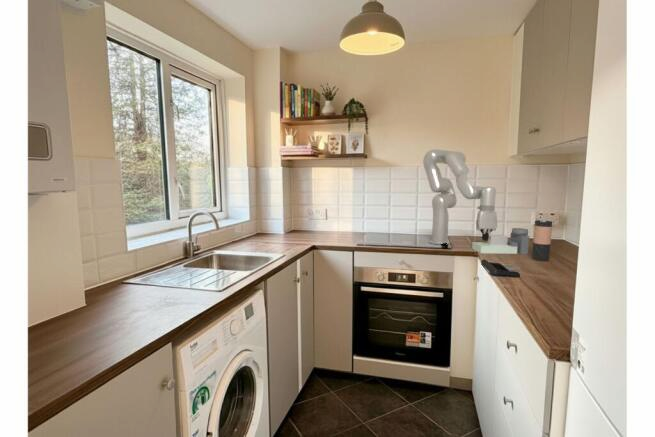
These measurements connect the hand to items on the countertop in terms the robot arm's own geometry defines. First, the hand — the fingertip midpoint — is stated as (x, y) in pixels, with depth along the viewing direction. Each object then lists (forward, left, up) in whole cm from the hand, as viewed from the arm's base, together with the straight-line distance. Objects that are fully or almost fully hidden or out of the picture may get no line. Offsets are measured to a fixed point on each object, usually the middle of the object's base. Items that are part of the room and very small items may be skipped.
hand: (485, 240), depth 191 cm
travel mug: (+19, +20, -6) cm, 28 cm away
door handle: (+42, -11, -7) cm, 44 cm away
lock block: (0, +7, -2) cm, 7 cm away
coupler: (0, +9, -6) cm, 11 cm away
